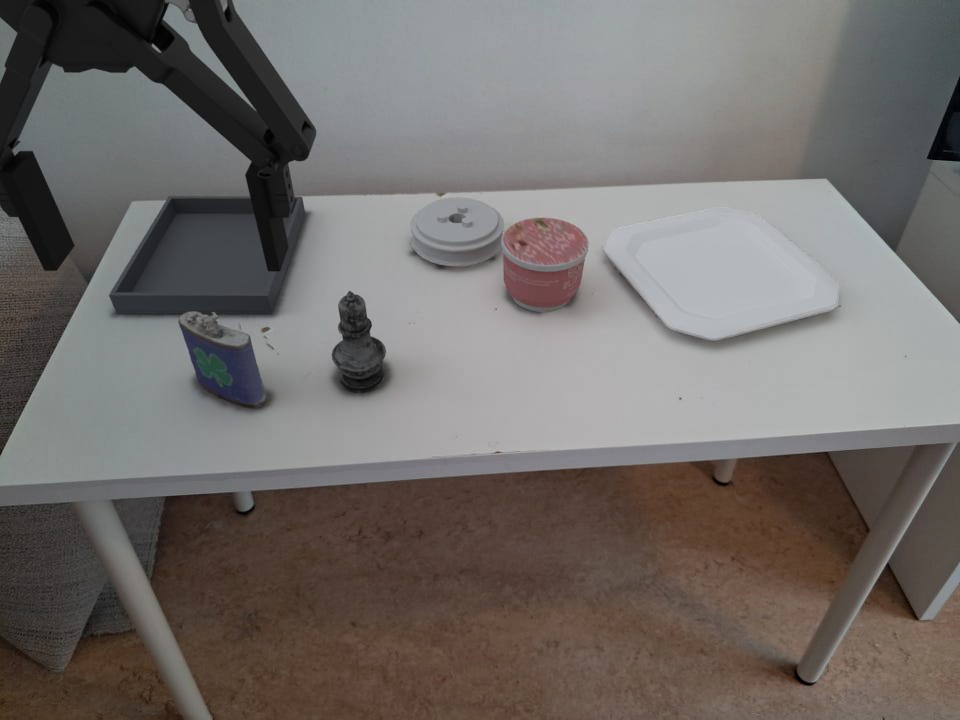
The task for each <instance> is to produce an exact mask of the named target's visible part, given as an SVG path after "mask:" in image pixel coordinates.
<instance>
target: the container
mask: <svg viewBox="0 0 960 720" xmlns="http://www.w3.org/2000/svg"><path fill="white" fill-rule="evenodd" d="M588 239H589V238H588V237H587V235H586V234H585V232H584V231H583V230H582V229H581V228H579V227H578V226H576V225H575V224H573V223H571V222H569V221H566V220H562V219H560V218H559V219H558V218H553V217H531V218H527V219H523V220H519V221H517V222H515V223H513V224H511V225H510V226H509V227H508V228H506V229H505V231H503V236H502V240H501V246H502V248H501V251H502V266H503V267H502V270H503V283H504V285H505V287H506V289H507V291H508V294H509V295H510V296H511V297H512V299H513V301H514V302H515V303H516V304H517V305H518V306H520V307H521V308H524V309H526V310H529V311H532V312H537V313H538V312H539V313H549V312H554V311H557V310H559V309H562V308H564V307H565V306H567V304H568V303H569V302H570V301H571V300H572V299H573V298H574V296H575V295H576V293H577V292H578V290H579V289H580V287H581V283H582V278H583V272H584V267H585V262H586V257H587V255H588V252H589V245H590V244H589V243H590V242H589V240H588Z"/></svg>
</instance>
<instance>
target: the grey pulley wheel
mask: <svg viewBox="0 0 960 720" xmlns="http://www.w3.org/2000/svg"><path fill="white" fill-rule="evenodd" d="M504 228H505V221H504V217H503V216H502V214H501V213H500V212H499V211H498V210H497V209H496V208H494V207H492V206H491V205H489V204H487V203H486V202H484V201H481V200H480V199H475V198H470V197H461V196H458V197H446V198H441V199H438V200H434V201H432V202H430V203H428V204H425V206H423V207H422V208H420V209H419V210H417V211H416V212H415V213H414V214H413V216H412V218H411V220H410V231H411V234H412V235H411V245H412V248H413V250H414V251H415V253H416V254H417V255H418V256H420V257H421V258H422V259H424V260H426V261H428V262H430V263H434V264H436V265H440V266H446V267H467V266H474V265H476V264H477V265H478V264H480V263H483V262H486V261H488V260H490V259H492V258H493V257H495V256H496V255H497V254H499V252H501V250H502V246H501V240H502V236H503V234H504Z"/></svg>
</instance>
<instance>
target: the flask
mask: <svg viewBox="0 0 960 720" xmlns="http://www.w3.org/2000/svg"><path fill="white" fill-rule="evenodd" d="M218 319H219V314H216V313H215V312H212V314H211V316H209V314H202V313H200V312H197V311H192V312H190V311H189V312H186V313H184V314H180V316H179V318H178V320H177V321H178V322H177V323H178V325H179V328H180V330H181V333H182V336H183V340H184V342H185V345H186V348H187V350H188V354H189V357H190V361H191V364H192V366H193V370H194V372H195V375H196V380H197V383H198V385H199V386H200V387H201V388H202V389H203V390H205V391H206V392H207V393H208V394H209V393H210V394H211V395H212V396H214V397H217V398H219V399H222V400H225V401H226V402H229V403H232V404H236V405H237V406H241V407H243V408H252V409H254V408H255V409H258V408H259V407H262V406H263V405H264V404H265V403H266V402H267V400H268V398H267V392H266V389H265V385H264V383H263V380H262V376H261V373H260V370H259V365H258V362H257V360H256V355H255V351H254V348H253V343H252V339H251V338H252V337H251V336H250V334H248V333H246V332H244V331H240V330H237V329H233V328H229V327H227V326H224V325H221V324H219V322H218Z"/></svg>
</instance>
